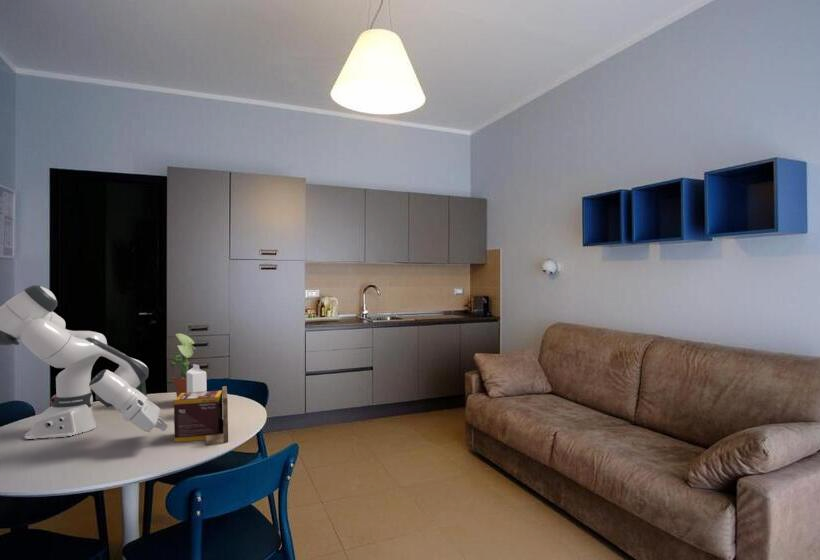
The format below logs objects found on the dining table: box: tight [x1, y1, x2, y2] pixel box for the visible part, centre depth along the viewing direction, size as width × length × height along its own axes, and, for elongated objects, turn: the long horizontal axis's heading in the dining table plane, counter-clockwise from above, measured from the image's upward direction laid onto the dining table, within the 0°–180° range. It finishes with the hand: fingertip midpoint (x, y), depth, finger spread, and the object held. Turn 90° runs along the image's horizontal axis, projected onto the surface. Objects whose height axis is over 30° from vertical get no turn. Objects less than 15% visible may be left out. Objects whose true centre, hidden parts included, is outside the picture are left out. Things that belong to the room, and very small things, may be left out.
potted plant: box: [170, 332, 196, 398], centre depth 220 cm, size 16×15×35 cm
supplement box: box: [173, 389, 223, 443], centre depth 179 cm, size 10×15×16 cm
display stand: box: [205, 385, 229, 446], centre depth 180 cm, size 7×19×16 cm, turn 22°
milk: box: [186, 363, 208, 393], centre depth 203 cm, size 6×6×22 cm
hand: (165, 428), depth 174 cm, fingers closed
